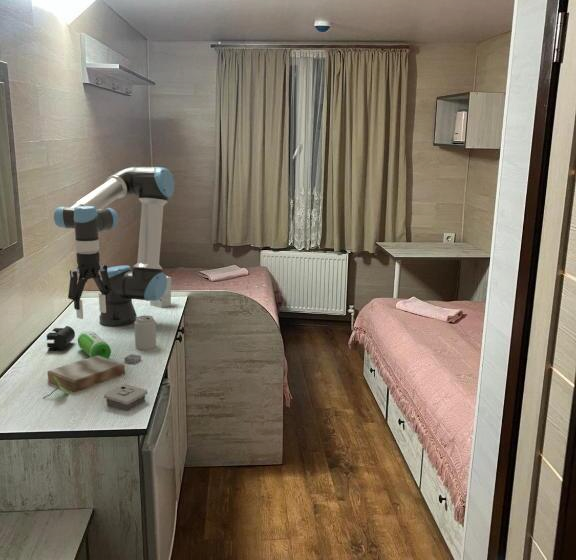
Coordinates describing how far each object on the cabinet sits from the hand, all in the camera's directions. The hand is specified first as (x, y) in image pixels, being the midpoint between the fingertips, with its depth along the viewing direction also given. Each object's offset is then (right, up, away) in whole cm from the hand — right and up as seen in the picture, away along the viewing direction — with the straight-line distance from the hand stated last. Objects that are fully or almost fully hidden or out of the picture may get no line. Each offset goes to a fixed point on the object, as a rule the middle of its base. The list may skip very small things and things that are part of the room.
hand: (91, 314), depth 218 cm
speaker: (0, -15, +4) cm, 16 cm away
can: (+16, -13, +12) cm, 24 cm away
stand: (+4, -20, -17) cm, 26 cm away
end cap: (-15, -13, +12) cm, 23 cm away
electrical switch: (+18, -24, -34) cm, 46 cm away
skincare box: (+11, -1, +66) cm, 67 cm away
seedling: (-4, -23, -33) cm, 41 cm away
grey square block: (+15, -17, -3) cm, 23 cm away
